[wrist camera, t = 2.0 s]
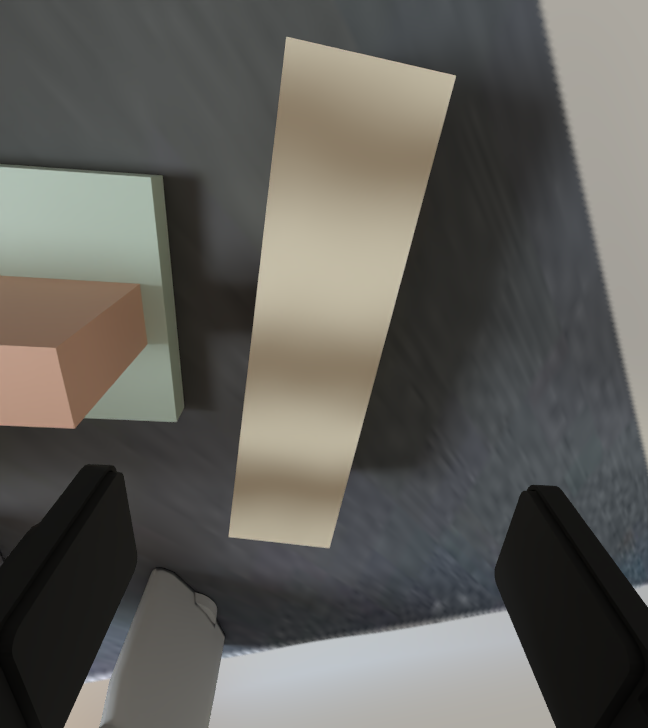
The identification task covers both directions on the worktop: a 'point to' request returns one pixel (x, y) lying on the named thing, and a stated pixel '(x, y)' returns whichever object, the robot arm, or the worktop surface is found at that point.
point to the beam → (328, 277)
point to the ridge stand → (85, 299)
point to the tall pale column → (166, 660)
